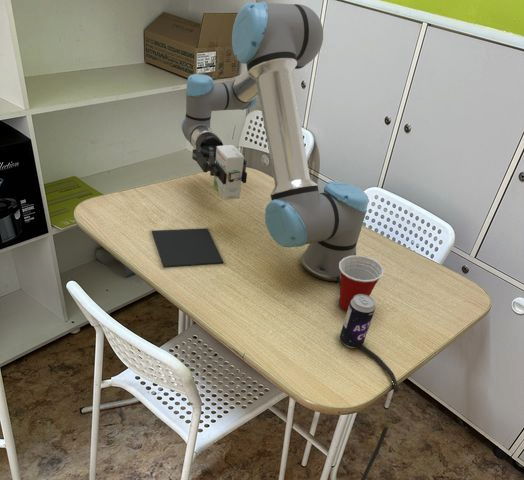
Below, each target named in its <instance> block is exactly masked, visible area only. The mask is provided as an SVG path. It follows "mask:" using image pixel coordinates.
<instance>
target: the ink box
mask: <svg viewBox="0 0 524 480" xmlns="http://www.w3.org/2000/svg"><path fill="white" fill-rule="evenodd" d="M244 159H245V157H244V155H243V154H242V153H241V152H240V151H239V149H237V147H236V146H235V145H234V144H225V145H224V144H223V146H217V149H216V161H215V166H216V164H219V165H220V166H221V168H222V169H223V170H224V171H225V173H226V174H227V178H226V184H223V183H222V182H221V181H220V179H219V178H218V177H216V176H213V188H214V189H215V190H216V191H217V192H218V194H219V195H220V196H221V198H222V199H223V200H236V199H237V200H239V199H240V197H241V188H242V181H241V180H242V171H243V162H244Z"/></svg>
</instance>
